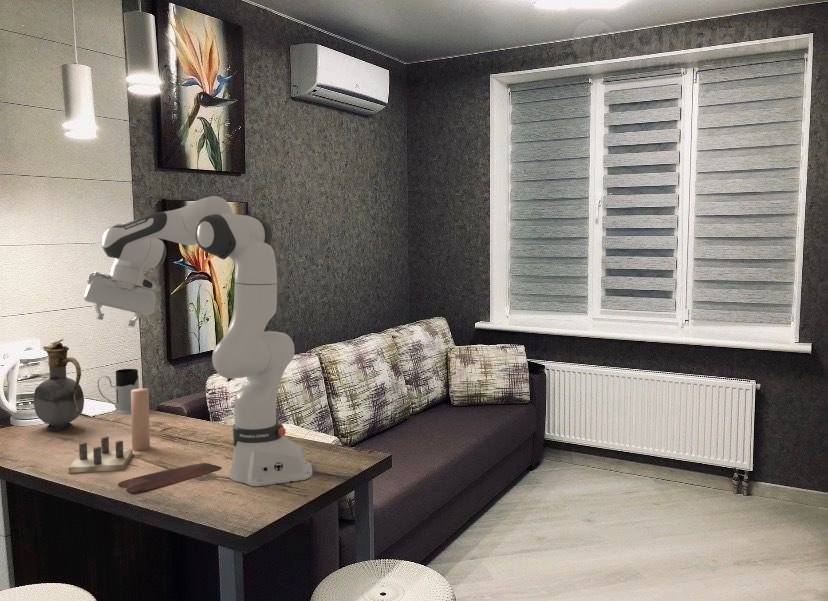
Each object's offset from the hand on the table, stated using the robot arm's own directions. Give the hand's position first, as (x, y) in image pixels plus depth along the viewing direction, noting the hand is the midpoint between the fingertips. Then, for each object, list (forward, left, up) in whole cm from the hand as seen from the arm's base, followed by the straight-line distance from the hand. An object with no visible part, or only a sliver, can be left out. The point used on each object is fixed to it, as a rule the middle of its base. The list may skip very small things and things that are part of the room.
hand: (115, 322), depth 209 cm
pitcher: (+22, -22, -38) cm, 49 cm away
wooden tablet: (-19, +31, -39) cm, 53 cm away
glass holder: (+8, -42, -38) cm, 57 cm away
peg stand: (+2, +16, -38) cm, 41 cm away
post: (-7, +4, -38) cm, 39 cm away
